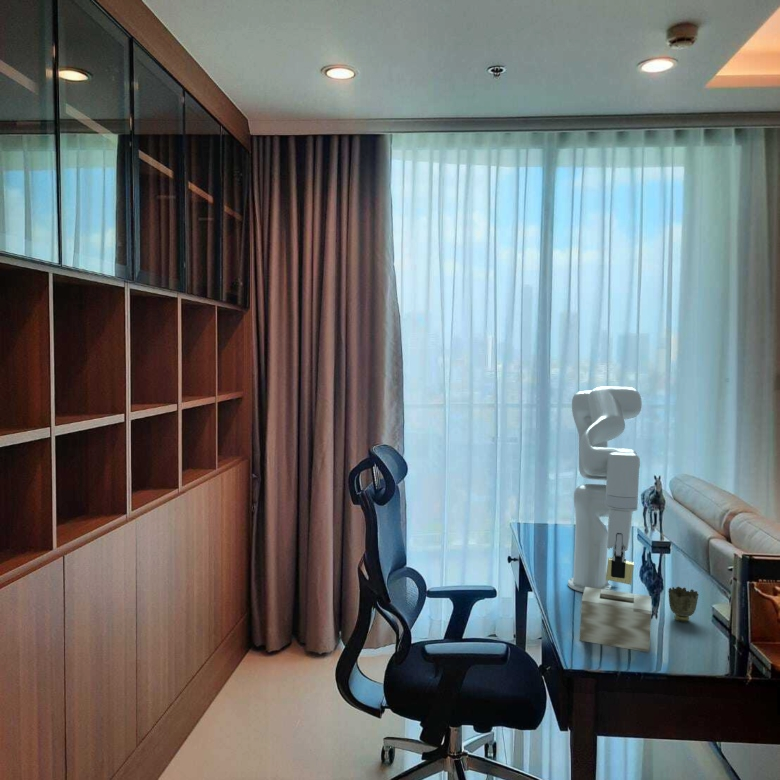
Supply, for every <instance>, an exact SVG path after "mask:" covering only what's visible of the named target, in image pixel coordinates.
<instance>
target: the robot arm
mask: <svg viewBox="0 0 780 780" xmlns="http://www.w3.org/2000/svg"><path fill="white" fill-rule="evenodd" d="M642 404H643V403H642V398H641V394H640V392H639V391H638V390H637V389H636V388H633V387H630V386H605V385H604V386H597V387H595V388H593V389H592V390H581V391H578V392H576V393H575V394H574V395H573V396H572V399H571V411H572V417H573V421H574V423H575V427H576V429H577V434H578V471H579V475H580V476H581V477H582V478H583V479H586V480H593V481H594V480H595V481H606V483H605V484H598V483H597V484H596V483H586V484H585V483H584V484H580V485H579V486H577V487H576V488H575V490H574V491H573V504H574V514H575V515H574V516H575V526H574V527H575V530H574V531H575V532H574V554H573V555H574V556H573V574H572V575H573V577H571V578H569V579H568V580H567V586H568V587H569V588H571V589H572V590H574V591H576V592H581V593H584V590H585V587H590V588H597V589H604V590H611V591H612V586H611V584H610V583H609V581H610V580H606V573H607V565H608V550H611V549H612V548H613V549H612V557H611V558H613V560H612V565H611V576H612V577H616V578H625V562H624V561H627V560H626V552H627V551H628V550H629V545H630V539H631V533H632V532H631V531H632V520H633V519H632V517H633V513H634V511H635V512H636V511H638V506H639V505H638V502H639V479H640V467H641V460H640V456H639V455H638V453H637V452H636V450H635V449H631V448H626V447H610V446H609V445H608V442H609V441H612V440H613V439H614V440H615V439H616V438H617V437H619V436H621V435H622V434H623V432H624V431H625V428H626V423H625V420H630V419H635V418H637V416H638V415H640V414H641V413H640V412H641V411H642V406H643V405H642ZM605 517H606V518H608V522H607V527H606V525H605V524H604V522H602V521H601V519H600V518H605Z"/></svg>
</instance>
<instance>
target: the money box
mask: <svg viewBox="0 0 780 780" xmlns="http://www.w3.org/2000/svg"><path fill="white" fill-rule="evenodd" d="M582 593H583V594H582V597H581V605H580V606H581V607H580V623H579V624H580V627H579V641H581V642H587V643H594V644H598V645H605V646H610V647H615V648H621V649H628V650H634V651H641V652H645V653H650V646H651V645H650V644H651V628H652V626H651V625H652V624H651V623H652V596H651V595H645V594H638V593H631V592H625V591H617V590H612V589H611V590H604V589H597V588H590V587H585V590H584V592H582Z"/></svg>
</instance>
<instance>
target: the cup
mask: <svg viewBox="0 0 780 780" xmlns="http://www.w3.org/2000/svg"><path fill="white" fill-rule="evenodd" d="M698 600H699V593H698V590H697V591H696V590H694V589H693V588H692V589H690V590H687V588H686V587H683V588H682V587H680V586H677V587H674V586H672V588H671V587H669V588H668V601H669V602H668V603H669V609H670V610H671V612H672V613H673V614H674V619H675V620H676V621H678V622H681V623H687V622H689V621H690V616H693V615H694V613H696V612H695V611H696V610H697V604H698Z"/></svg>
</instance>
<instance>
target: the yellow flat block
mask: <svg viewBox="0 0 780 780" xmlns="http://www.w3.org/2000/svg"><path fill="white" fill-rule="evenodd" d="M612 560H613V558H612V557H607V564H606V572H607V573H606V580H609V581H611V582H616V583H621V584H625V585H630V586H632V580H633V574H634V565H635V562H634V561H629V560H626V561H624V562H625V578H616V577H612V576H611V565H612Z"/></svg>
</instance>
